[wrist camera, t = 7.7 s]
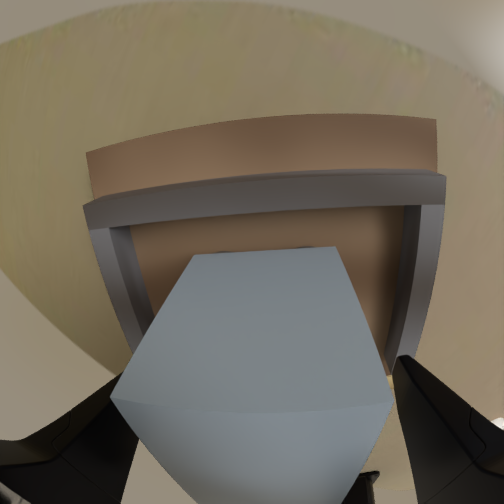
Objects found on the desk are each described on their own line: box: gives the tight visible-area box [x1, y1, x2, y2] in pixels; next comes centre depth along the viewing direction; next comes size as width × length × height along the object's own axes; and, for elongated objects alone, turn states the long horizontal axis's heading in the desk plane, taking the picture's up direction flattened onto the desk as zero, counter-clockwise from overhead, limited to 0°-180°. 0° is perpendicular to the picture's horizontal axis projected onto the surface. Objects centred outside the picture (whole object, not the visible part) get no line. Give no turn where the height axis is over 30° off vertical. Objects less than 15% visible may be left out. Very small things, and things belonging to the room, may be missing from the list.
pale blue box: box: [110, 246, 394, 504], centre depth 9 cm, size 8×5×8 cm, turn 6°
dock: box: [83, 114, 446, 389], centre depth 12 cm, size 14×14×4 cm
